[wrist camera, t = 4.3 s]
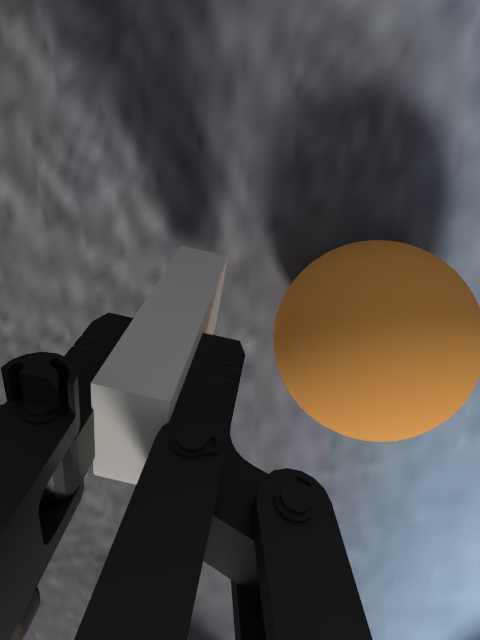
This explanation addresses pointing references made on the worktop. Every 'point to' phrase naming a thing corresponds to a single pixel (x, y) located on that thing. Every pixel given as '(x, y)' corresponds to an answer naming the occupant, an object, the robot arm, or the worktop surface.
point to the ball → (378, 340)
